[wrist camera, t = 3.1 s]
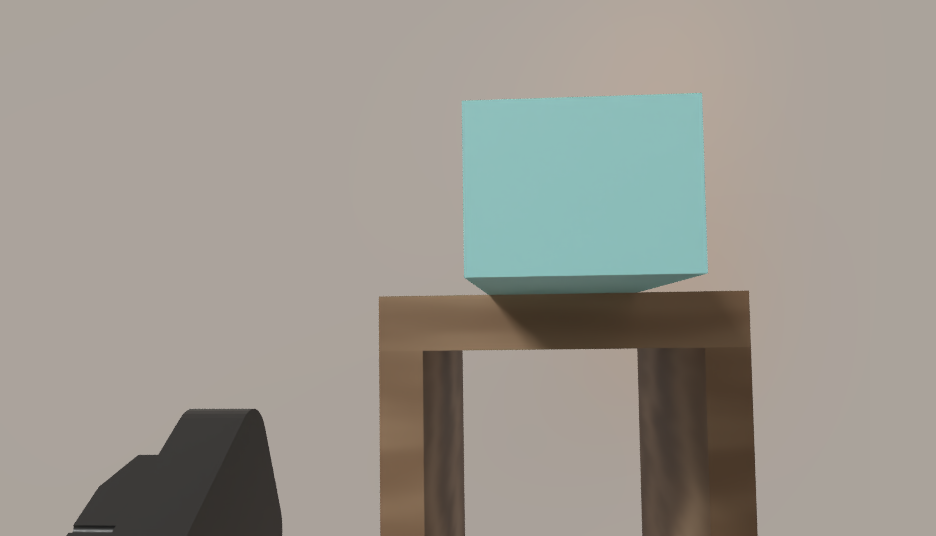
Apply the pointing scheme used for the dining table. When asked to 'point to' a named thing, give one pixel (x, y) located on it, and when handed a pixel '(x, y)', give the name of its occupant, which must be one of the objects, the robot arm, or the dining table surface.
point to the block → (583, 193)
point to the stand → (575, 327)
